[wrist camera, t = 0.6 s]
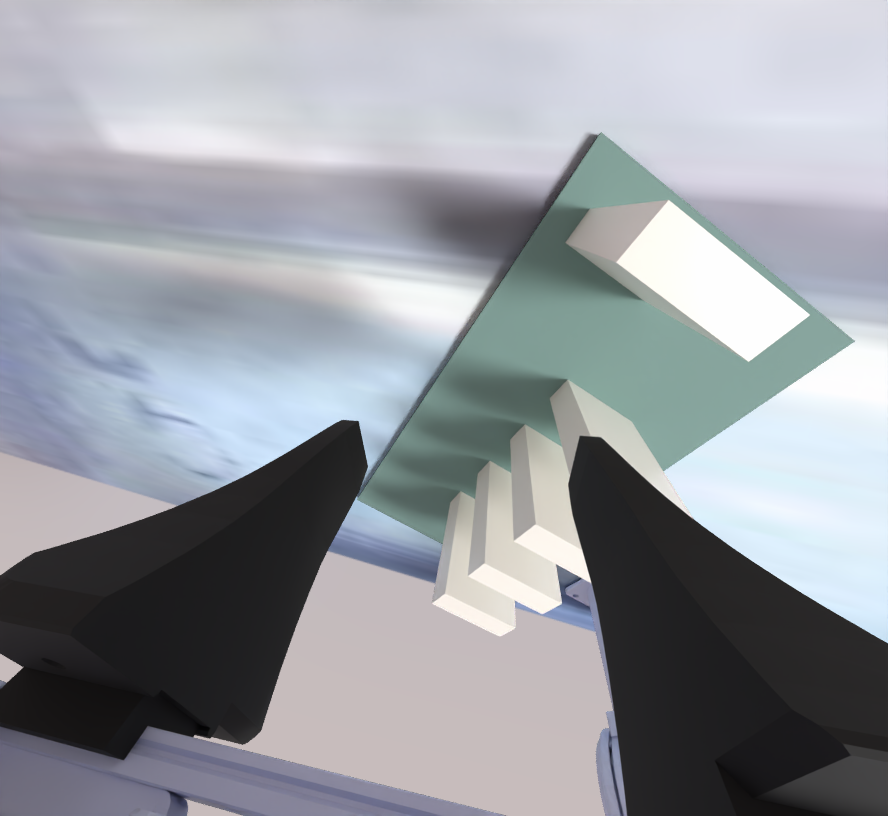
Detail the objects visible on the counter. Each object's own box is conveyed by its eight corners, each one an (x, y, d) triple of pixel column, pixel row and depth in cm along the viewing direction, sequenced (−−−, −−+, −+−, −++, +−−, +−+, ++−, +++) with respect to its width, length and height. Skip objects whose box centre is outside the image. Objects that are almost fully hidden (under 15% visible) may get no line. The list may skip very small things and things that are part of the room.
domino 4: (631, 421, 19) (700, 530, 13) (611, 438, 20) (666, 548, 13) (567, 379, 19) (605, 471, 12) (549, 398, 19) (574, 494, 13)
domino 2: (584, 460, 21) (621, 572, 15) (567, 474, 22) (596, 585, 15) (524, 424, 21) (535, 524, 14) (510, 439, 21) (513, 541, 15)
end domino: (512, 519, 26) (515, 628, 19) (500, 529, 26) (499, 636, 20) (460, 491, 25) (445, 593, 18) (450, 502, 26) (431, 603, 19)
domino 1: (545, 492, 23) (562, 603, 17) (531, 504, 24) (542, 614, 18) (489, 460, 23) (484, 563, 16) (477, 473, 24) (467, 576, 17)
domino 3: (671, 271, 15) (809, 315, 8) (643, 300, 16) (748, 361, 9) (589, 208, 14) (668, 200, 7) (565, 242, 15) (615, 262, 8)
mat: (847, 338, 16) (854, 341, 15) (506, 573, 30) (506, 577, 30) (598, 134, 13) (601, 132, 13) (359, 496, 28) (357, 499, 27)
